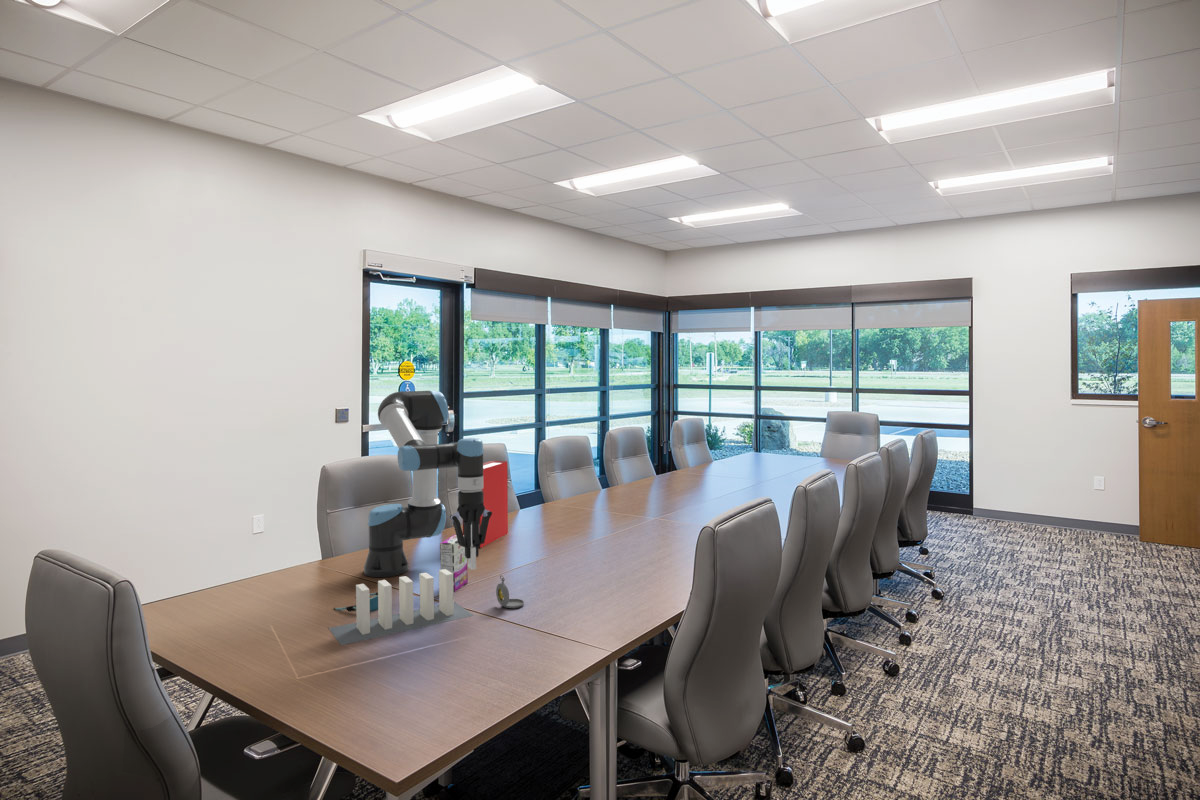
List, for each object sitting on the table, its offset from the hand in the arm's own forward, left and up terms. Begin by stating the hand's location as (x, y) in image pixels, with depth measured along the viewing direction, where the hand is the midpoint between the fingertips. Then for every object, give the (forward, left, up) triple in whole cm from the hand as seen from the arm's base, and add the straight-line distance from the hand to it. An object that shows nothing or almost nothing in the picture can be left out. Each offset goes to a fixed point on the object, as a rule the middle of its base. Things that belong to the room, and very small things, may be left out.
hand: (471, 568), depth 199 cm
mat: (0, -21, -12) cm, 24 cm away
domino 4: (0, -14, -12) cm, 18 cm away
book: (-73, +39, -13) cm, 84 cm away
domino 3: (0, -20, -12) cm, 23 cm away
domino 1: (0, -32, -12) cm, 34 cm away
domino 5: (0, -8, -12) cm, 14 cm away
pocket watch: (+5, +10, -13) cm, 17 cm away
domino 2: (0, -26, -12) cm, 29 cm away
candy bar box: (-21, +3, -13) cm, 25 cm away
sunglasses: (-21, -26, -13) cm, 36 cm away
